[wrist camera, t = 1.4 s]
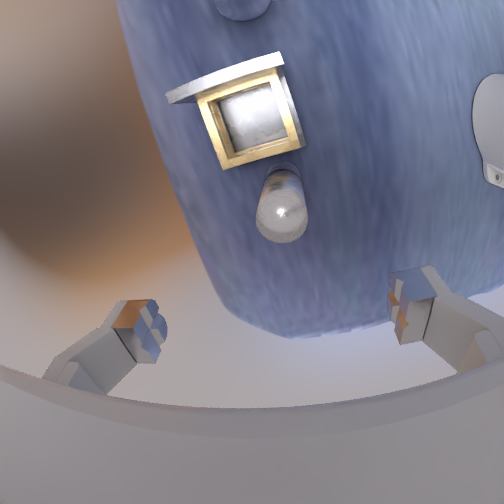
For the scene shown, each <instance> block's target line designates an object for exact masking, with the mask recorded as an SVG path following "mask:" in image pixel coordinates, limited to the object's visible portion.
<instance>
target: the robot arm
mask: <svg viewBox="0 0 504 504" xmlns="http://www.w3.org/2000/svg"><path fill="white" fill-rule="evenodd" d="M472 116H473V128H474V134H475V138H476V142H477V145H478V147H479V150H480V152H481V155H482V159H483V173H484V178H485V180H486V181H487V182H489V183H491V184H494V185H496V186H499V187H501V188H504V74H492V75H489V76H488V77H486V78H485V79H484V80H483V81H482V82H481V83H480V85H479V87H478V89H477V91H476V94H475V97H474V102H473V114H472ZM496 175H497V176H496ZM389 285H390V287H391V290H390V291H389V293H388V294H387V310H388V314H389V318H390V320H391V321H392V322H393V323H395V333H396V336H397V338H398V341H399V344H400V345H402V344H408V343H413V342H417V341H422V340H423V342H424V343H425V344H426V345H428V346H429V347H430V348H431V349H432V350H433V351H435V352H436V353H437V354H438V355H439V356H441V357H442V358H443V359H444V360H445V361H446V362H447V363H449V364H450V365H451V366H452V367H453V368H454V369H456V370H457V373H456V375H453V376H450V377H447V378H444V379H440V380H437V381H434V382H431V383H427V384H423V385H419V386H416V387H412V388H408V389H404V390H399V391H396V392H391V393H386V394H381V395H376V396H372V397H366V398H360V399H354V400H347V401H341V402H333V403H325V404H316V405H308V406H307V405H306V406H295V407H280V408H249V409H248V408H247V409H246V408H240V409H239V408H205V407H189V406H177V405H167V404H158V403H149V402H142V401H135V400H129V399H123V398H117V397H112V396H107V394H108V393H109V392H110V391H111V390H112V389H113V388H114V387H115V386H116V385H117V384H118V383H119V382H120V381H121V379H122V378H124V377H125V376H126V375H127V374H128V373H129V372H130V371H131V370H132V368H134V367H135V366H136V365H137V364H136V363H145V364H146V363H147V364H155V363H156V361H157V359H158V356H159V354H160V352H161V349H160V345H161V344H162V343H163V342H165V340H166V337H167V325H166V321H165V319H164V317H163V316H161V315H160V314H159V313H158V309H159V307H158V305H157V303H156V302H155V301H154V300H152V299H144V300H122V301H118V302H117V303H116V304H115V306H114V308H113V309H112V311H111V312H110V313H109V315H108V317H107V318H106V319H105V321H104V323H103V324H102V325H101V327H100V328H96V329H95V330H93V331H92V332H90V333H89V334H88V335H86V336H85V337H83V338H82V339H80V340H79V341H78V342H76V343H75V344H73V345H72V346H70V347H69V348H67V349H66V350H65V351H64V352H62V353H60V354H59V355H58V356H56V357H55V358H54V359H53V361H52V363H51V364H50V366H49V367H48V369H47V370H46V372H45V374H44V375H43V377H42V379H41V378H37V377H35V376H31V375H29V374H26V373H23V372H20V371H17V370H15V369H12V368H9V367H7V366H4V365H2V364H0V504H504V318H503V317H501V316H500V315H498V314H496V313H494V312H492V311H490V310H488V309H486V308H485V307H483V306H481V305H479V304H477V303H475V302H473V301H471V300H469V299H467V298H465V297H463V296H461V295H459V294H457V293H452V292H451V291H450V290H449V288H448V287H447V285H446V284H445V282H444V281H443V280H442V278H441V277H440V275H439V274H438V273H437V271H436V270H435V269H434V267H433V266H431V265H428V266H423V267H418V268H415V269H410V270H404V271H398V272H392V273H390V276H389Z"/></svg>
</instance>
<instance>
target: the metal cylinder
mask: <svg viewBox="0 0 504 504" xmlns="http://www.w3.org/2000/svg"><path fill="white" fill-rule="evenodd" d="M307 224H308V215H307V209H306V203H305V197H304V192H303V185H302V181H301V176H300V172H299V170H298V169H297V167H296V166H294V165H293V164H291V163H289V162H284V161H282V162H277V163H275V164H273V165H272V166H271V167H270V168H269V169H268V171H267V174H266V178H265V181H264V184H263V189H262V193H261V197H260V201H259V205H258V209H257V213H256V225H257V227H258V229H259V231H260V233H261V234H262V235H263V236H264V237H265V238H267V239H269V240H271V241H273V242H277V243H287V242H291V241H294V240H296V239H297V238H299V237H300V236H301V235H302V234H303V233H304V231H305V229H306V227H307Z"/></svg>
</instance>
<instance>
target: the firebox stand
mask: <svg viewBox="0 0 504 504" xmlns="http://www.w3.org/2000/svg"><path fill="white" fill-rule="evenodd" d="M165 94H166V97H167V100H168V102H169V104H182V103H198V105H199V108H200V110H201V113H202V116H203V118H204V121H205V124H206V126H207V129H208V132H209V134H210V137H211V140H212V142H213V145H214V148H215V151H216V153H217V156H218V159H219V161H220V164H221V167H222V169H223V170H225V169H228V168H231V167H235V166H238V165H241V164H244V163H248V162H251V161H255V160H258V159H261V158H265V157H269V156H272V155H276V154H279V153H283V152H287V151H291V150H295V149H299V148H301V147H305V146H306V142H305V139H304V135H303V132H302V129H301V125H300V122H299V119H298V116H297V113H296V110H295V106H294V103H293V100H292V97H291V94H290V91H289V88H288V86H287V83H286V80H285V77H284V62H283V60H282V57H281V54H280V52H276V53H273V54H269V55H265V56H262V57H259V58H255V59H252V60H249V61H246V62H242V63H239V64H236V65H233V66H231V67H228V68H225V69H222V70H219V71H217V72H214V73H211V74H209V75H206V76H204V77H201V78H199V79H196V80H194V81H192V82H189V83H187V84H185V85H182V86H180V87H178V88H176V89H173V90H171V91H169V92H167V93H165Z"/></svg>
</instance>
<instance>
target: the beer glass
mask: <svg viewBox="0 0 504 504" xmlns="http://www.w3.org/2000/svg"><path fill="white" fill-rule="evenodd" d="M213 1H215V4H216V7H217V9H218V11H219V12H220V14H221V15H223V16H224V17H226V18H228V19H230V20H234V21H248V20H252V19H255V18H257V17H259V16H261V15H262V14H263V13H264V12H265V11H266V10H267V9H268V7H269V5H270V1H271V0H213Z"/></svg>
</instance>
